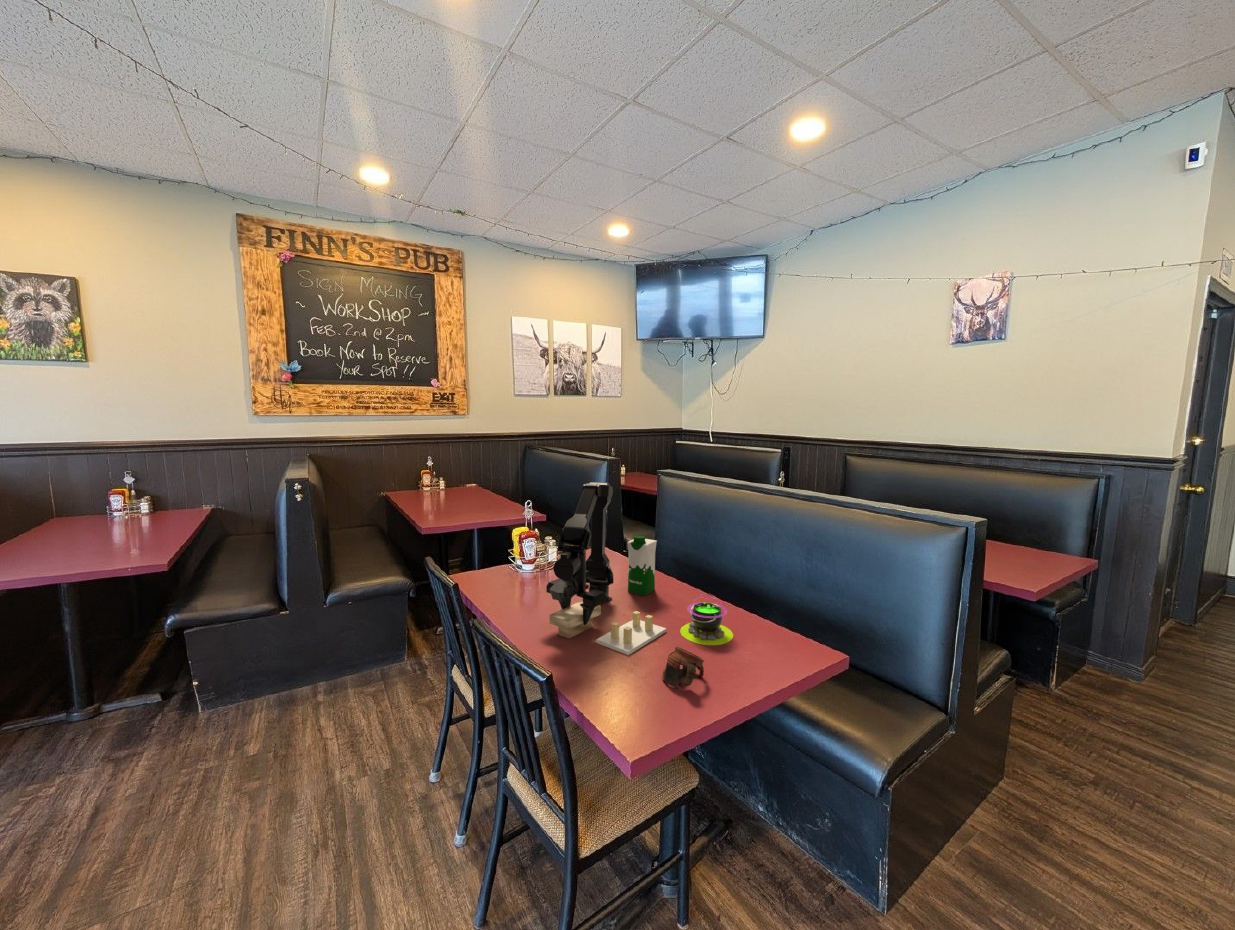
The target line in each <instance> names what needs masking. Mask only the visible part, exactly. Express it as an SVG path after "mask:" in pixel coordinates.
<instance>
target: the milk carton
mask: <svg viewBox="0 0 1235 930" xmlns="http://www.w3.org/2000/svg"><path fill="white" fill-rule="evenodd" d="M657 542H658V540H655V539H649V538H646V536H645V535H643V534H642V535H641V534H637V535H633V539H631V540H628V541H627V550H628V562H627V565H628V566H627V567H628V568H627V569H628V570H627V572H628V574H627V592H628V593H631V594H636V595H640V596H644V597H646V596H648V595H649V594H651V593H652V592H654V591H655V590H656V580H655V579H656V578H655V577H656V575H655V574H656V550H657V549H656V548H657Z"/></svg>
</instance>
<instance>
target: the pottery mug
mask: <svg viewBox="0 0 1235 930" xmlns="http://www.w3.org/2000/svg"><path fill="white" fill-rule="evenodd" d="M666 660H667V662H666V664H665V669H663V670H662V678H661V679H662V681H664V682H665V683H666V684H668V685H669V686H671V687H673V688H674V689H675V688H676V689H679V685H680V684H681V686H683V687H689V686H691V684H692V683H693V680H694V679H695V676H696V675H697V674H696V673H697V670H698V671H699V674H698V675H699V678H700V679H702V678H704V673H705V670H704V669H705V668H704V666H703V664H704V662H705V660H704V658H702V657H700V656H698V655H696V654H694V653H692V652H690V651H687V650H686V649H683V648H682V647H679V646H675V648H674V651H672V652H671V653H670V654H669V655H668V657H667V659H666ZM681 666H682V668H681Z"/></svg>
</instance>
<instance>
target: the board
mask: <svg viewBox="0 0 1235 930" xmlns="http://www.w3.org/2000/svg"><path fill="white" fill-rule="evenodd" d="M582 603H583V600H581V601H578V602H576V603H573V604H570V606H569V607H566V608H564V609H562V608H561V609H560V610H557V611H555V612H552V613H550V614H549V617H548V618H549V624H550V625H553V626H555V627H560V628H563V629H565V630H569V629H571V628H573V627H576V626H578V625H580V624H582V623H583V608H582V607H581V606H580V604H582ZM601 615H602V606H601V605H598V606H596V607H595V609H594V610H593V612H592V614H591V617H590V619H592V618H596V617H598V616H601ZM590 619H589V620H590Z"/></svg>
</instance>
